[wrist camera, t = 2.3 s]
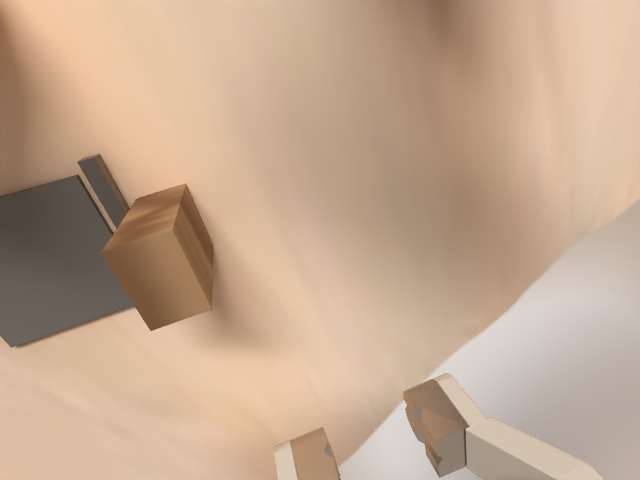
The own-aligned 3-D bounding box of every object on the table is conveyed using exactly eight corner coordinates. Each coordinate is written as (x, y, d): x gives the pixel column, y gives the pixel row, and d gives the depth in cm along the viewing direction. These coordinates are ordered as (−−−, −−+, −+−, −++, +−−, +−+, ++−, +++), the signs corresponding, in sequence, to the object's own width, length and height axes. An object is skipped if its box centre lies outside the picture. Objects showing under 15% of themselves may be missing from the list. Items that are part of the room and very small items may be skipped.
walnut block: (185, 183, 28) (172, 229, 19) (213, 244, 31) (212, 309, 22) (137, 198, 28) (100, 252, 19) (169, 259, 30) (150, 331, 22)
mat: (78, 174, 26) (76, 176, 25) (151, 296, 31) (150, 299, 31) (-97, 225, 24) (-102, 227, 24) (13, 344, 30) (11, 347, 29)
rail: (99, 153, 25) (94, 156, 24) (178, 297, 32) (177, 304, 31) (82, 158, 25) (77, 161, 24) (165, 301, 32) (164, 309, 31)
